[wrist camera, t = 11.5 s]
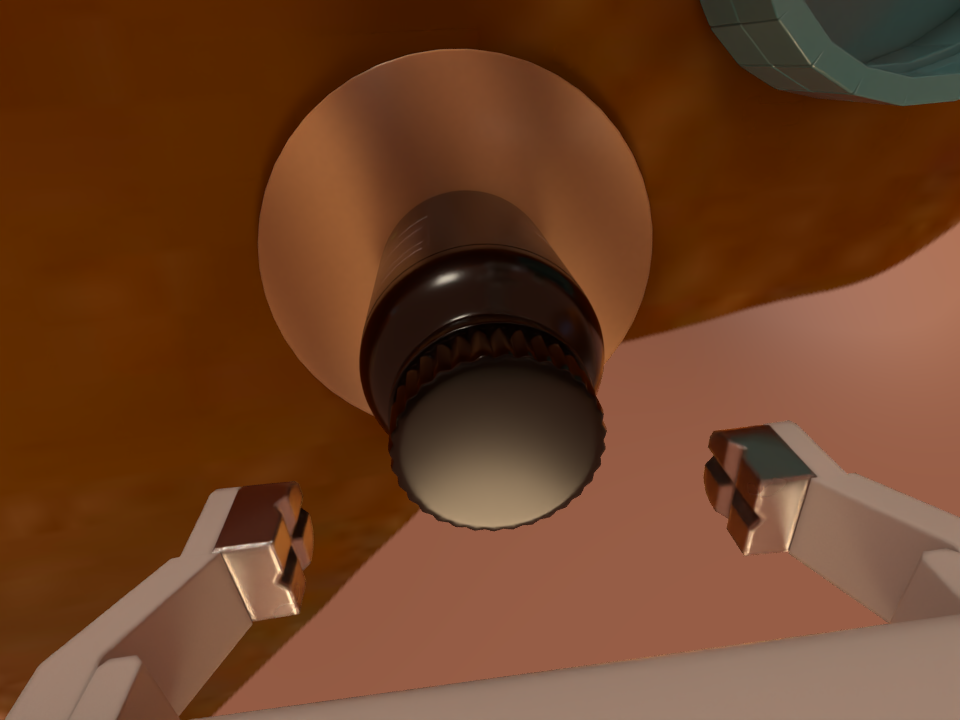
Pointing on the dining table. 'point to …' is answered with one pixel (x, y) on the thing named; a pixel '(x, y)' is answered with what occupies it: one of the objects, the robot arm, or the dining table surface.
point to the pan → (846, 47)
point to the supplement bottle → (482, 365)
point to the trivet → (440, 169)
